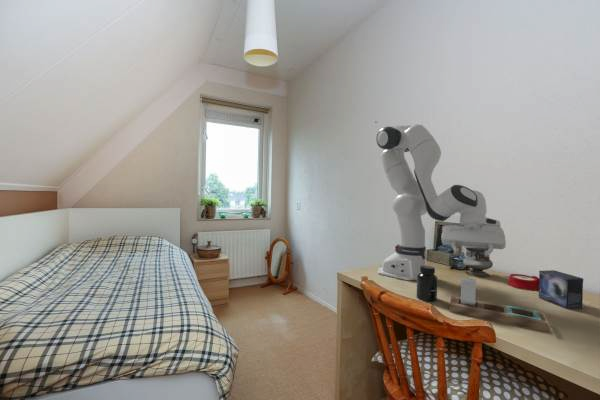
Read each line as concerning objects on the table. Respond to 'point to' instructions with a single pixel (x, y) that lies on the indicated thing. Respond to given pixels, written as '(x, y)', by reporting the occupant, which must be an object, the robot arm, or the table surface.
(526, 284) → the alarm clock
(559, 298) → the small box
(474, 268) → the apothecary jar
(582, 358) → the table surface
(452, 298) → the wooden compartment tray
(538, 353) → the table surface
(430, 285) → the supplement bottle
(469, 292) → the steel peg
